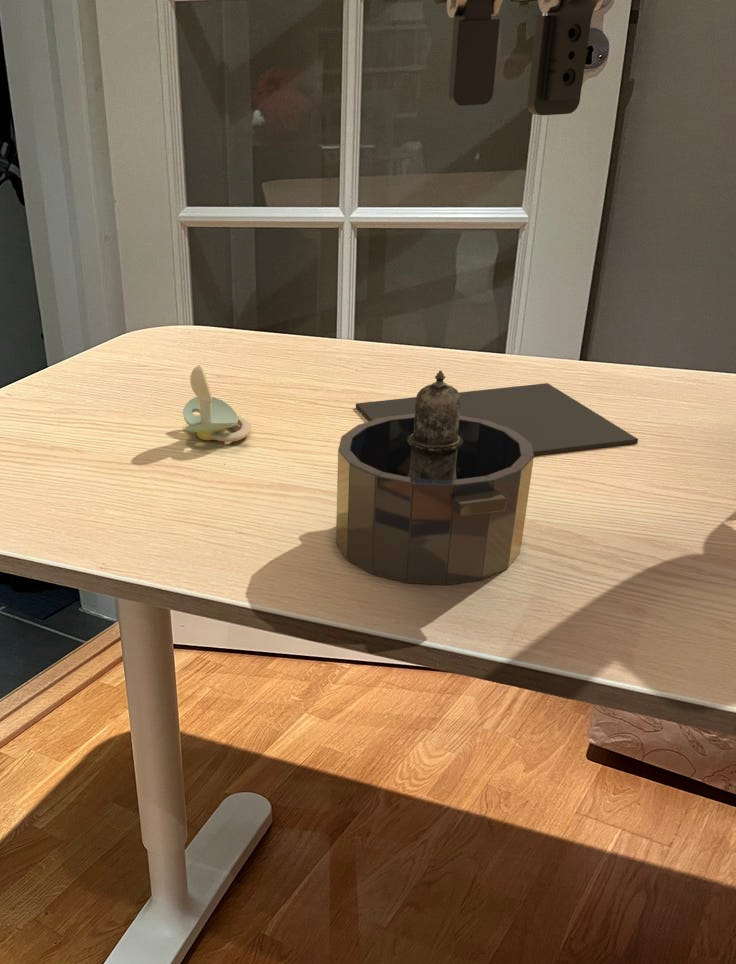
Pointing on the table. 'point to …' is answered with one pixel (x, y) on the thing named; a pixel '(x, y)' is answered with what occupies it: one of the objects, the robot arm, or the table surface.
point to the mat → (526, 417)
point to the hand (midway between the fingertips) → (507, 109)
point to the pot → (432, 503)
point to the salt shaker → (435, 432)
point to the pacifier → (211, 413)
